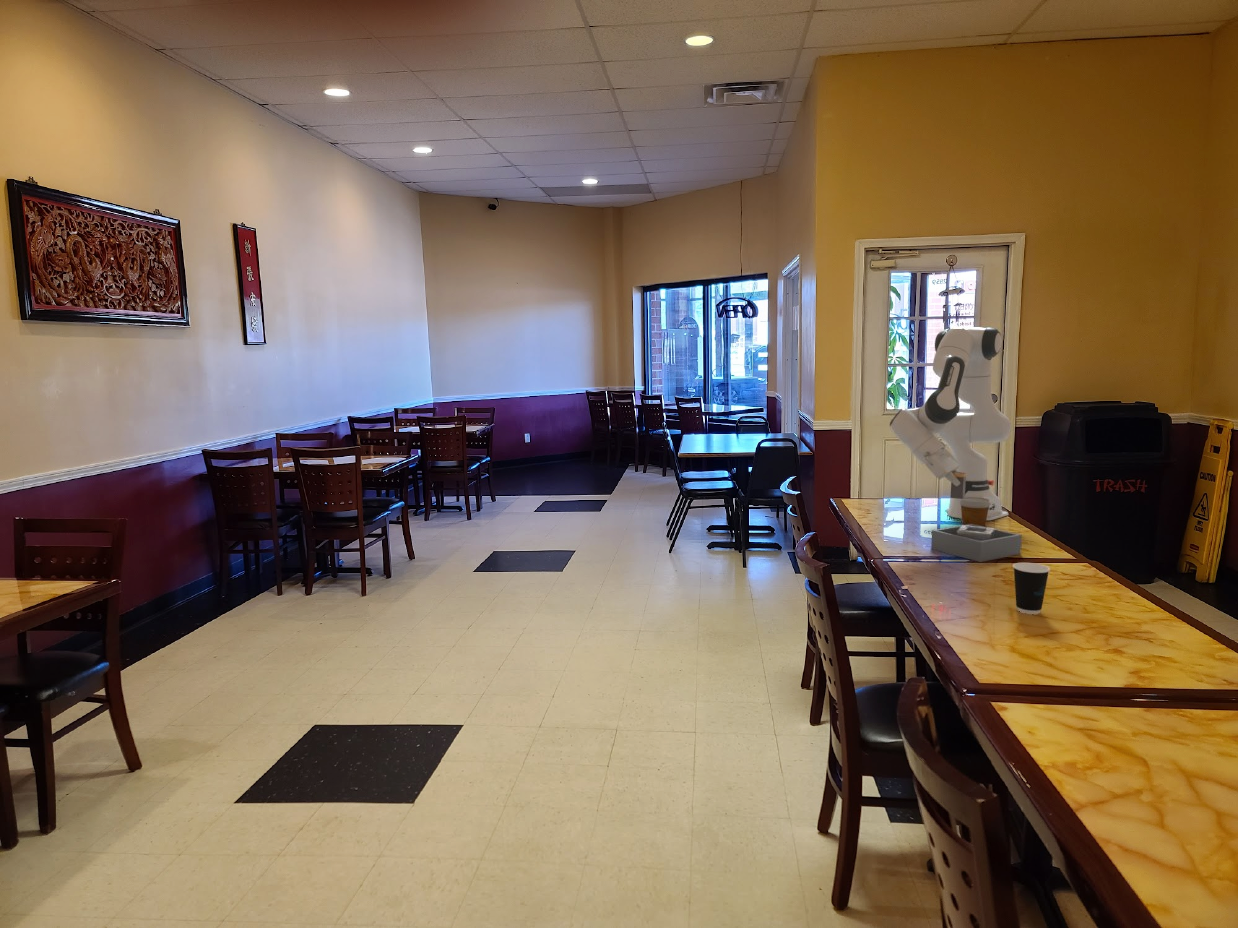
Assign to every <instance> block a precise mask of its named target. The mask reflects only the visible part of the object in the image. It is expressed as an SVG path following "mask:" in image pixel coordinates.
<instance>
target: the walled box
mask: <svg viewBox="0 0 1238 928" xmlns="http://www.w3.org/2000/svg"><path fill="white" fill-rule="evenodd" d="M962 525H963V524H961V525H956V526H950V527H943V528H938V529H932V530H931V546H930V548H931V550H934V551H938V552H943V553H946V554H949V555H953V556H957V557H960V558H964V559H968V560H971V561H975V562H980V563H983V562H987V561H988V562H989V561H992V560H993V561H994V560H998V559H1003V558H1007V557H1012V556H1018V555H1021V554H1022V553H1021V552H1022V538H1023V537H1022V534H1019V533H1014V532H1009V531H1005V530H1002V529H996V528H995V539H990V540H984V541H978V540H974V539H970V538H965V537H961V536H957V530H958V529H959V528H960V527H961V526H962ZM967 525H969V526H979V525H974V524H967ZM979 527H983V526H979Z"/></svg>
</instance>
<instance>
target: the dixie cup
mask: <svg viewBox="0 0 1238 928" xmlns="http://www.w3.org/2000/svg"><path fill="white" fill-rule="evenodd" d="M1012 568H1013V573H1014V577H1013V578H1014V589H1015V593H1014V595H1015V605H1016V607H1017V611H1018V612H1019V611H1020V612H1019V613H1022V614H1025V613H1026V614H1025V615H1032V614H1034V615H1039V614H1040V613H1041V610H1042V608H1043V604H1044V598H1045V593H1046V587H1047V582H1048V577H1049V572H1050V571H1051V568H1050V567H1049V566H1047V565H1045V564H1041V563H1035V562H1017V563H1013V564H1012ZM1038 613H1039V614H1038Z"/></svg>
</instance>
